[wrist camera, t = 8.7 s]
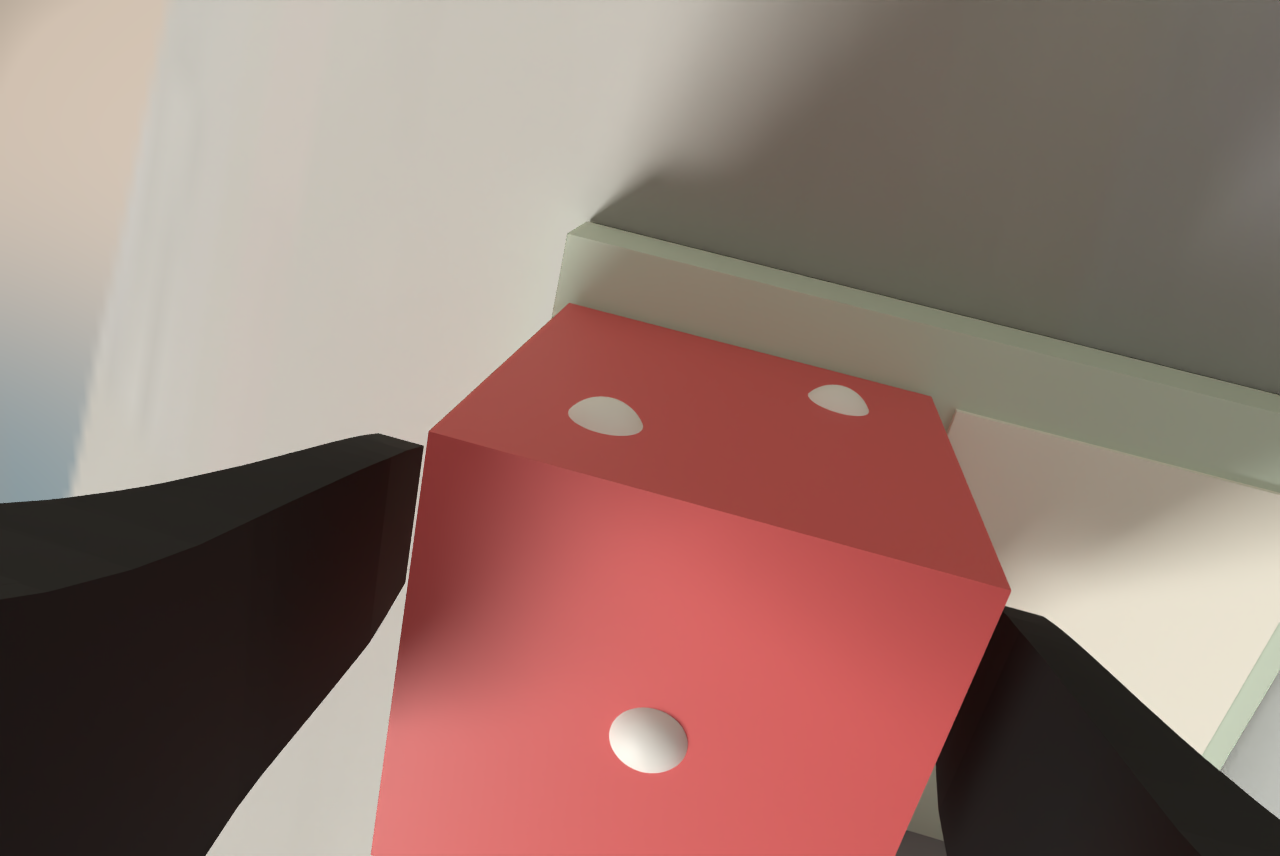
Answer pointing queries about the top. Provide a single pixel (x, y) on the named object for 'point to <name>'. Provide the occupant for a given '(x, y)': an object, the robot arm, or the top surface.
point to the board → (1035, 466)
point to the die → (680, 606)
